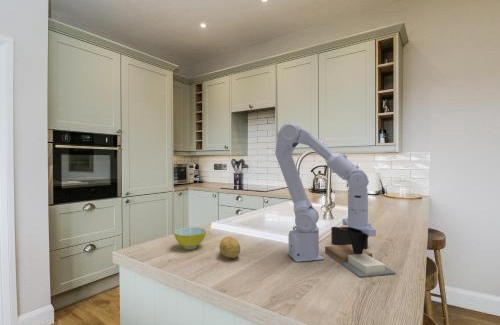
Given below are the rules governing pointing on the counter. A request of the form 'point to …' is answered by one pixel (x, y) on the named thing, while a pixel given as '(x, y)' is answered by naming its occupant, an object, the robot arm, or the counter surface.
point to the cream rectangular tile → (366, 263)
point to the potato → (229, 247)
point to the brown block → (342, 252)
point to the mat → (362, 274)
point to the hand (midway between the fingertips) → (357, 253)
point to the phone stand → (342, 236)
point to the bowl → (190, 236)
